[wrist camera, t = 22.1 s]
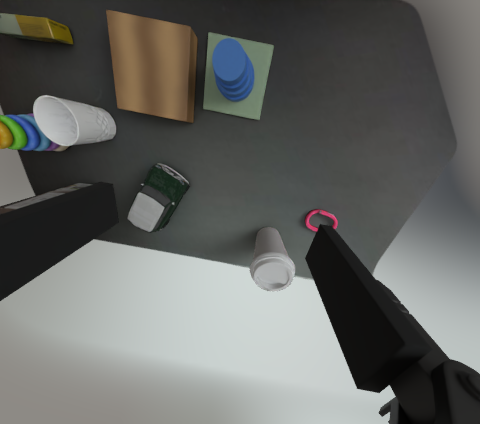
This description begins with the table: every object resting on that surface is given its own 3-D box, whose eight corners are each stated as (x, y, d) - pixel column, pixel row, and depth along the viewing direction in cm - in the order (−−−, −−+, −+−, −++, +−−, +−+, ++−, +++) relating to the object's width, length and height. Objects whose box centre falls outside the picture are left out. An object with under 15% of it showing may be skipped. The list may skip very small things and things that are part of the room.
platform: (197, 38, 31) (190, 26, 28) (193, 123, 37) (186, 121, 34) (123, 23, 31) (105, 9, 28) (130, 110, 37) (117, 108, 34)
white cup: (108, 150, 41) (68, 155, 32) (79, 122, 39) (26, 120, 30) (125, 126, 39) (86, 124, 30) (94, 95, 37) (42, 83, 28)
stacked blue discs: (258, 60, 32) (259, 31, 23) (250, 104, 35) (248, 95, 26) (219, 52, 32) (205, 20, 23) (215, 98, 35) (201, 86, 26)
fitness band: (340, 217, 44) (343, 219, 43) (327, 234, 46) (329, 237, 45) (312, 205, 43) (314, 207, 42) (300, 223, 46) (302, 226, 44)
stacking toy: (66, 157, 43) (-56, 174, 26) (34, 134, 41) (-120, 135, 24) (77, 132, 40) (-53, 132, 23) (43, 105, 38) (-125, 84, 21)
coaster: (273, 46, 31) (274, 45, 31) (259, 120, 36) (259, 120, 36) (209, 33, 31) (208, 32, 30) (203, 109, 36) (202, 108, 36)
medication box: (17, 39, 34) (-11, 31, 30) (8, 19, 32) (-22, 9, 29) (74, 45, 33) (53, 38, 30) (69, 26, 32) (45, 15, 28)
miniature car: (194, 180, 43) (181, 189, 36) (164, 228, 50) (149, 245, 43) (161, 158, 41) (142, 163, 34) (136, 211, 48) (115, 225, 41)
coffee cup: (244, 237, 49) (240, 278, 35) (267, 215, 45) (272, 250, 32) (268, 255, 51) (273, 300, 37) (292, 235, 47) (307, 277, 34)
